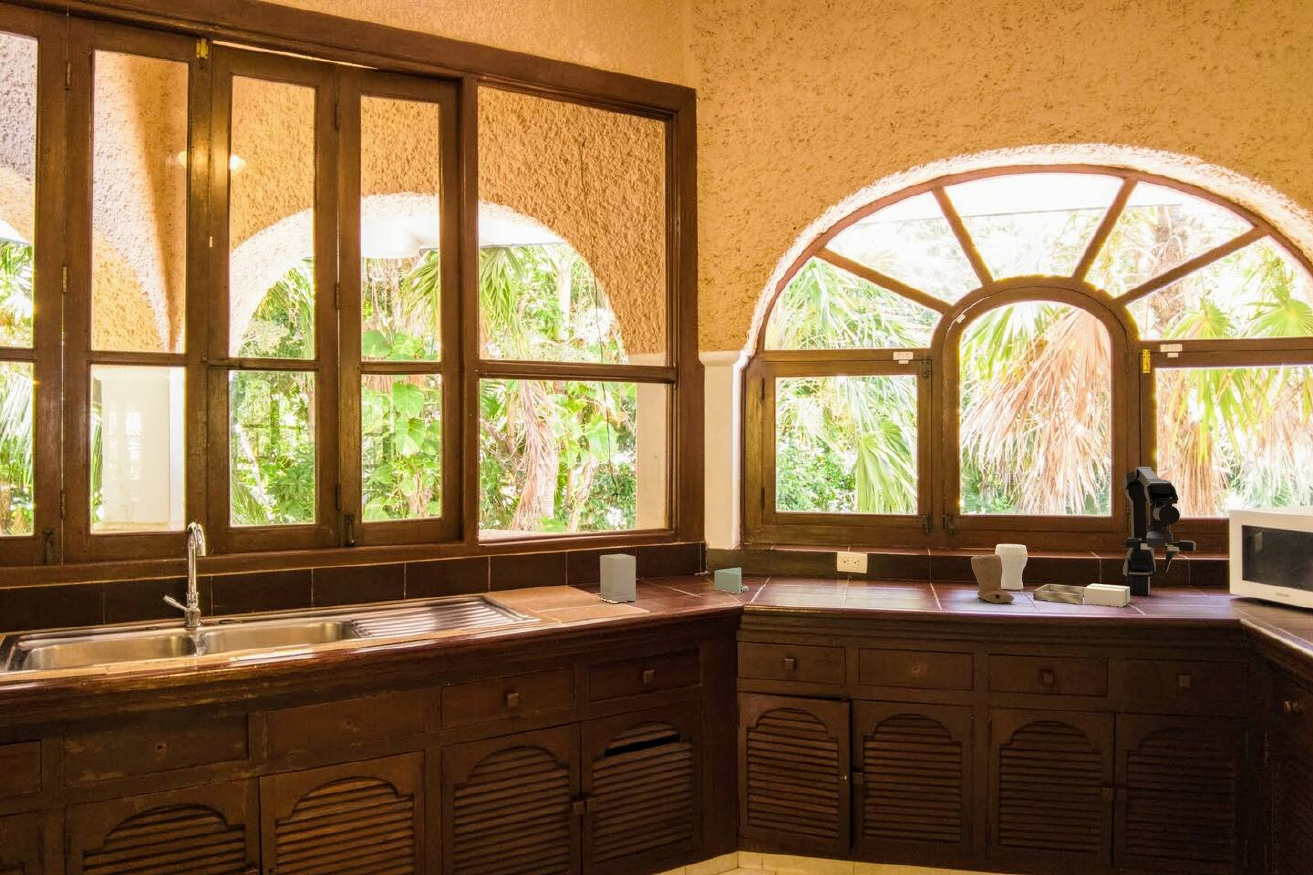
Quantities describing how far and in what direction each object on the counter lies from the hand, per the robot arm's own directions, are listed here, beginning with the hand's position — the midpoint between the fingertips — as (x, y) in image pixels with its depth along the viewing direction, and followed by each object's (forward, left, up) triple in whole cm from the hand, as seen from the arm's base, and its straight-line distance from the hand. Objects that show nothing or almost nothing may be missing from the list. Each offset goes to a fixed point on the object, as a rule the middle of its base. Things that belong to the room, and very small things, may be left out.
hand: (1160, 572), depth 276 cm
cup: (+48, -11, -11) cm, 51 cm away
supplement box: (+143, +91, -11) cm, 170 cm away
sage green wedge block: (+122, +50, -12) cm, 133 cm away
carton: (+15, 0, -11) cm, 19 cm away
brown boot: (+46, +17, -11) cm, 50 cm away
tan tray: (+27, 0, -11) cm, 29 cm away
